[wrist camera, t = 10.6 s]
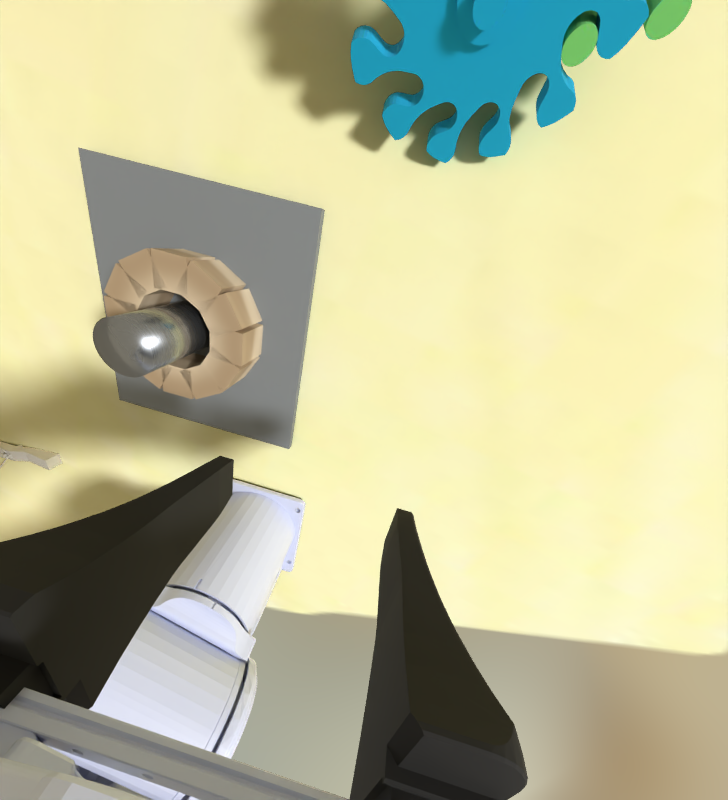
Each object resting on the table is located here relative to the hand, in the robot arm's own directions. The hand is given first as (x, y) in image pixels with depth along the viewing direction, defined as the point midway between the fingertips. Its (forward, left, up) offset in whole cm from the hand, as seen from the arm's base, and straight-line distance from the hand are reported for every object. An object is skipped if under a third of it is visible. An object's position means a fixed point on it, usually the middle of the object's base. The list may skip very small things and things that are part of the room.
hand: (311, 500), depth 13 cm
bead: (+3, +11, -9) cm, 14 cm away
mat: (+3, +11, -9) cm, 15 cm away
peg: (+3, +11, -9) cm, 14 cm away
